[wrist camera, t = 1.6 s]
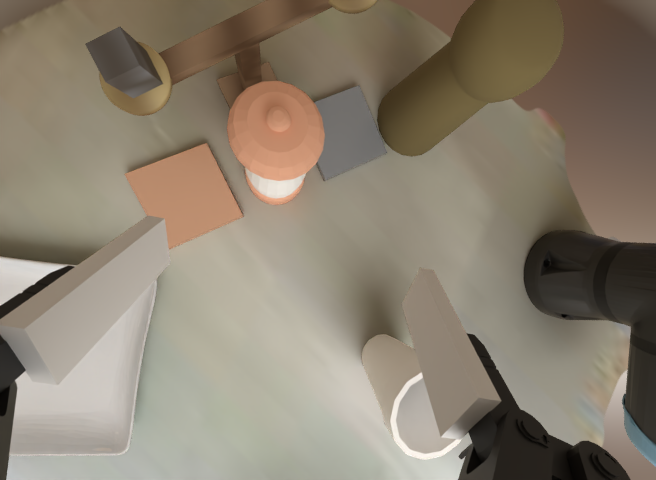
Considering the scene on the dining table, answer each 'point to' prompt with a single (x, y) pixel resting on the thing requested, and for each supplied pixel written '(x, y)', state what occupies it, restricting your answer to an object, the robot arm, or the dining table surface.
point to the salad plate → (80, 381)
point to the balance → (200, 54)
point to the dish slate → (347, 133)
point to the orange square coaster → (186, 194)
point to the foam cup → (403, 397)
